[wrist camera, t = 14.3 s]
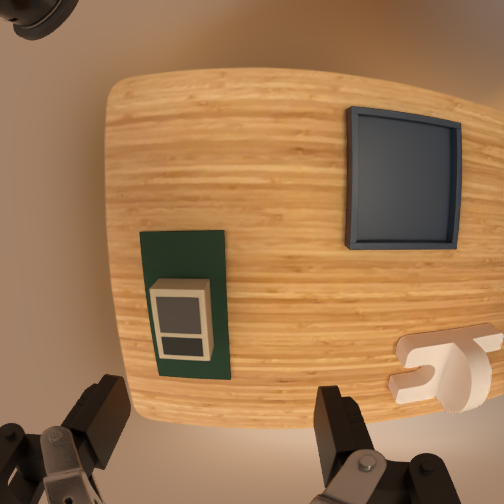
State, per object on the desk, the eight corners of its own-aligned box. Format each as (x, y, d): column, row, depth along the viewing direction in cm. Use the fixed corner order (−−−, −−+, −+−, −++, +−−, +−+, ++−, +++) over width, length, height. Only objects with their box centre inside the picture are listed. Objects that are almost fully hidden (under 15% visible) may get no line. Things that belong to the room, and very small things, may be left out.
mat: (140, 231, 36) (139, 232, 36) (224, 230, 36) (223, 230, 35) (159, 374, 41) (159, 375, 41) (230, 378, 41) (230, 379, 40)
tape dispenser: (477, 372, 40) (508, 408, 30) (386, 390, 41) (410, 439, 31) (492, 322, 38) (532, 354, 28) (398, 335, 39) (432, 381, 28)
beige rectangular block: (158, 278, 37) (148, 289, 33) (209, 278, 37) (204, 290, 33) (166, 343, 39) (159, 359, 36) (214, 345, 39) (209, 361, 35)
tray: (346, 109, 32) (351, 105, 30) (452, 124, 32) (461, 122, 29) (344, 245, 36) (349, 249, 34) (448, 245, 35) (456, 249, 33)
